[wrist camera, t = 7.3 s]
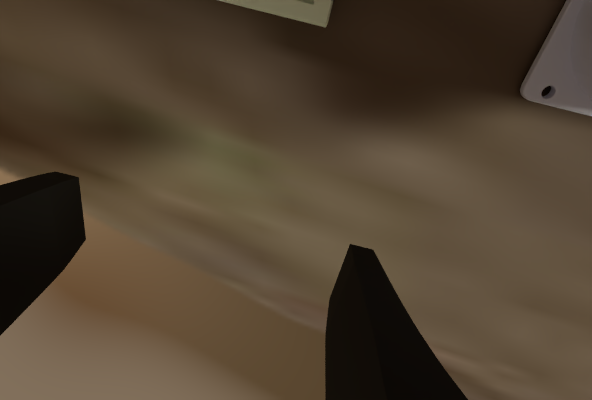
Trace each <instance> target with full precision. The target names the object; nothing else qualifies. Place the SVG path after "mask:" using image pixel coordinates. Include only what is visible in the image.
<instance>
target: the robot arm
mask: <svg viewBox="0 0 592 400" xmlns="http://www.w3.org/2000/svg"><path fill="white" fill-rule="evenodd" d="M547 86H551V90H550V92H549V93H548V94H547V95H545V96H542V95H541V93H542V90H543V89H544V88H545V87H547ZM520 94H521V95H522V97H523V98H525V99H527V100H529V101H532V102H536V103H540V104H544V105H548V106H552V107H556V108H560V109H564V110H568V111H572V112H576V113H580V114H584V115H588V116H592V0H566V2H565V4H564V6H563V8H562V10H561V12H560V13H559V15H558V17H557V19H556V21H555V23H554V25H553V27H552V28H551V30H550V32H549V34H548V36H547V38H546V40H545V42H544V43H543V45H542V47H541V49H540V51H539V53H538V55H537V57H536V58H535V60H534V62H533V64H532V66H531V68H530V70H529V72H528V73H527V75H526V77H525V79H524V81H523V83H522V85H521V88H520ZM85 240H86V237H85V228H84V219H83V211H82V202H81V194H80V185H79V177H75V176H71V175H67V174H63V173H59V172H51V173H46V174H41V175H37V176H33V177H29V178H25V179H21V180H18V181H14V182H11V183H7V184H3V185H0V335H1V334H2V333H3V332H4V331H5V330H6V329H7V328H8V327H9V326H10V325H11V324H12V323H13V322H14V321H15V320H16V319H17V318H18V317H19V316H20V315H21V314H22V313H23V312H24V311H25V310H26V309H27V308H28V306H30V305H31V303H32V302H33V301H34V300H35V299H36V298H37V297H38V296H39V295H40V294H41V293H42V292H43V291H44V290H45V289H46V288H47V287H48V286H49V285H50V284H51V283H52V282H53V281H54V280H55V279H56V277H57V276H58V275H59V274H60V273H61V272H62V271H63V270H64V269H65V267H66V266H67V265H68V263H69V262H70V261H71V259H72V258H73V257H74V255H75V253H76V252H77V251H78V250H79V248H80V246H81V245H82V244H83V242H84V241H85ZM325 342H326V343H325V344H326V345H325V348H326V349H325V351H326V354H325V355H326V356H325V357H326V358H325V360H326V362H325V363H326V364H325V365H326V366H325V367H326V369H325V370H326V371H325V372H326V373H325V374H326V375H325V376H326V400H468V399H467V398H466V397H465V395H464V394H463V393H462V391H461V390H460V389H459V387H458V386H457V385H456V383H455V382H454V381H453V380H452V378H451V377H450V376H449V374H448V373H447V372H446V370H445V369H444V368H443V366H442V365H441V363H440V362H439V361H438V359H437V358H436V356H435V355H434V353H433V352H432V350H431V349H430V347H429V346H428V344H427V343H426V341H425V340H424V338H423V337H422V335H421V334H420V332H419V331H418V329H417V327H416V326H415V324H414V323H413V321H412V319H411V318H410V316H409V314H408V312H407V311H406V309H405V307H404V306H403V304H402V302H401V301H400V299H399V297H398V295H397V293H396V292H395V290H394V288H393V286H392V284H391V282H390V281H389V279H388V277H387V275H386V273H385V271H384V269H383V267H382V265H381V264H380V262H379V260H378V258H377V256H376V254H375V252H374V251H373V250H372V249H368V248H364V247H360V246H356V245H352V244H350V246H349V248H348V251H347V254H346V256H345V259H344V262H343V264H342V267H341V270H340V273H339V275H338V278H337V281H336V283H335V286H334V289H333V291H332V294H331V297H330V300H329V308H328V317H327V326H326V341H325Z"/></svg>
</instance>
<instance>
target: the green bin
mask: <svg viewBox="0 0 592 400" xmlns="http://www.w3.org/2000/svg"><path fill="white" fill-rule="evenodd" d="M218 1H222V2H226V3H230V4H234V5H238V6H242V7H246V8H250V9H254V10H258V11H262V12H266V13H270V14H274V15H278V16H282V17H286V18H290V19H294V20H298V21H302V22H306V23H310V24H314V25H318V26H322V27H326V26H327V24H328V22H329V18H330V14H331V9H332V5H333V1H334V0H218Z"/></svg>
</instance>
